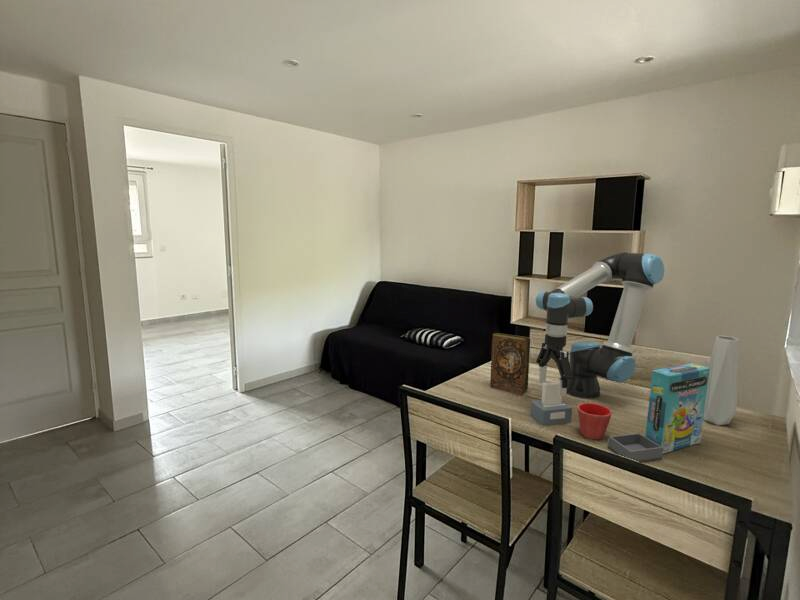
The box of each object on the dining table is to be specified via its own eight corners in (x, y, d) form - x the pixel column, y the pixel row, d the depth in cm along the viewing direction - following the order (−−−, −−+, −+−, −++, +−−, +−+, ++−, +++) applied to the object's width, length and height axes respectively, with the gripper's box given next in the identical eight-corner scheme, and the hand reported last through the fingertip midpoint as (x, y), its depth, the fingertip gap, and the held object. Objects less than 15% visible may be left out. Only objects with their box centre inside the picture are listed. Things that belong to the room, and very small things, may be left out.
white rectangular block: (556, 410, 165) (559, 381, 163) (560, 413, 163) (562, 383, 161) (540, 412, 164) (542, 382, 161) (544, 415, 161) (546, 385, 159)
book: (488, 387, 195) (490, 335, 191) (492, 383, 200) (495, 332, 196) (524, 395, 187) (527, 340, 183) (527, 391, 191) (530, 337, 187)
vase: (699, 411, 171) (709, 332, 165) (735, 420, 163) (747, 337, 157) (692, 420, 162) (703, 337, 157) (730, 430, 154) (742, 343, 149)
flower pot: (607, 444, 144) (609, 418, 143) (573, 436, 150) (575, 410, 148) (610, 432, 153) (613, 407, 151) (578, 424, 159) (580, 400, 157)
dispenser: (557, 412, 169) (558, 397, 168) (571, 422, 160) (572, 406, 159) (530, 415, 167) (531, 399, 165) (542, 426, 158) (543, 409, 157)
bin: (638, 443, 145) (639, 432, 144) (661, 459, 135) (663, 447, 135) (607, 447, 142) (608, 436, 142) (629, 463, 133) (630, 451, 132)
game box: (661, 455, 138) (670, 376, 133) (643, 446, 143) (651, 370, 139) (701, 443, 146) (711, 367, 141) (682, 434, 151) (691, 362, 147)
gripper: (529, 327, 169) (526, 378, 172) (566, 344, 145) (561, 402, 148) (546, 326, 171) (542, 377, 174) (586, 343, 147) (580, 400, 150)
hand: (551, 388), depth 161 cm, fingers open, 13 cm apart
